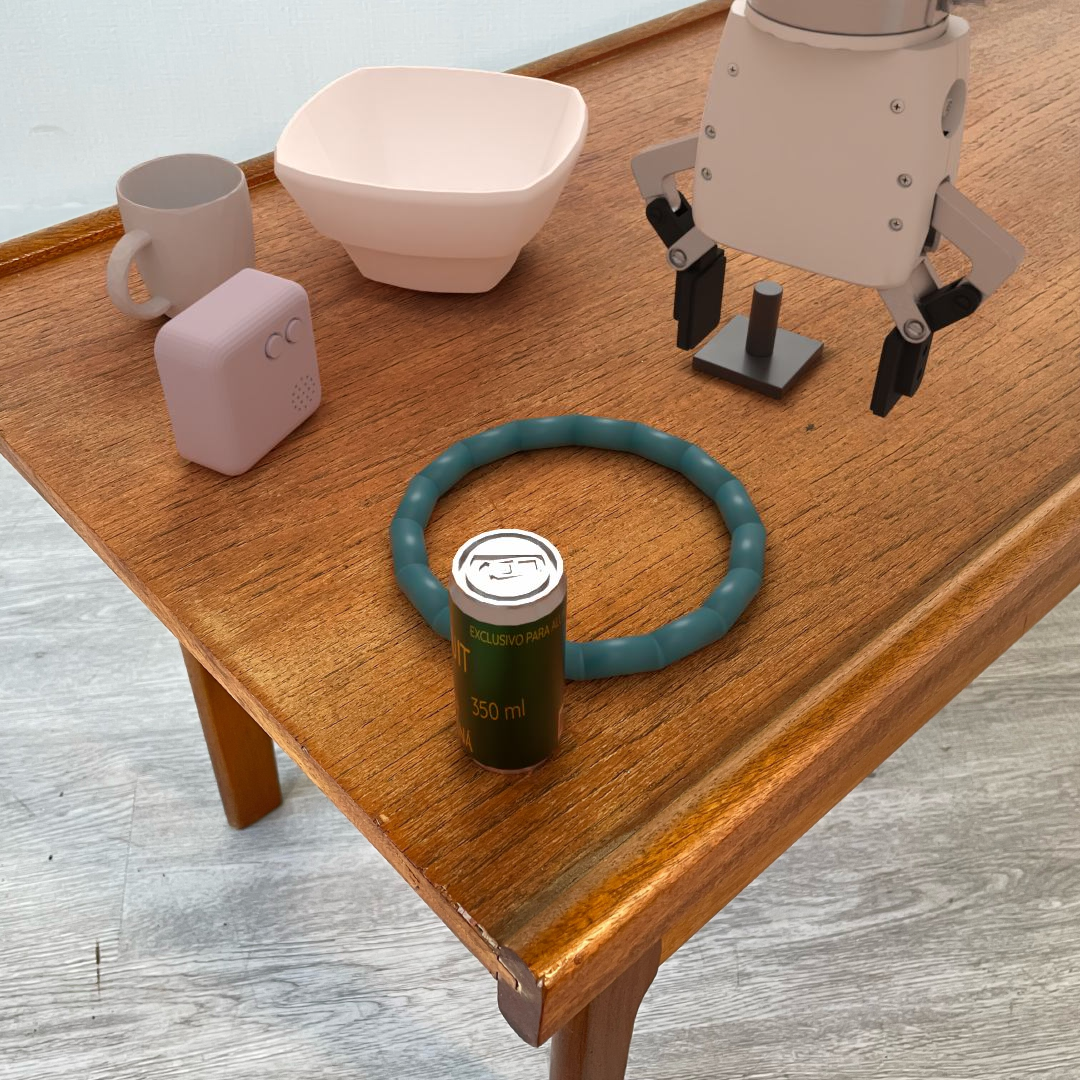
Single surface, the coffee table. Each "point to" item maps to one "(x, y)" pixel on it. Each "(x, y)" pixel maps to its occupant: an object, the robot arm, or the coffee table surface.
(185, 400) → the electronic device
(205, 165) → the mug
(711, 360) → the post
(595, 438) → the ring
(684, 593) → the coffee table surface
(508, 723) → the beer can
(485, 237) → the bowl
